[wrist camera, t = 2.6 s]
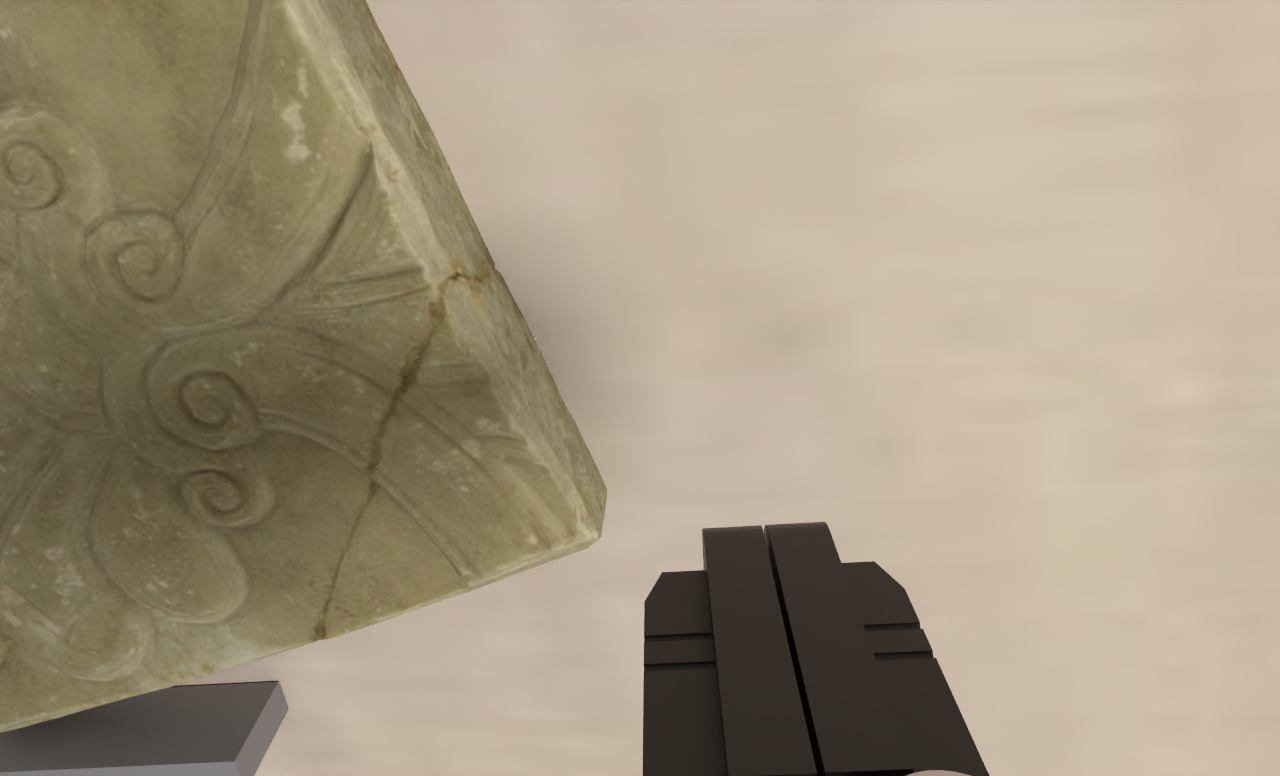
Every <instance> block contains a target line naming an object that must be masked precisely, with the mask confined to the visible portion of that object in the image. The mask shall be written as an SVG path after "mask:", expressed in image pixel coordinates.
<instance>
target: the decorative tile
mask: <svg viewBox="0 0 1280 776" xmlns="http://www.w3.org/2000/svg"><path fill="white" fill-rule="evenodd" d="M606 498H607V489H606V486H605V484H604V482H603V480H602V477H601V475H600V473H599V470H598V468H597V466H596V464H595V462H594V460H593V458H592V456H591V454H590V452H589V450H588V448H587V446H586V444H585V442H584V440H583V437H582V435H581V433H580V431H579V429H578V427H577V425H576V423H575V421H574V419H573V418H572V416H571V414H570V412H569V411H568V409H567V407H566V406H565V404H564V402H563V399H562V397H561V395H560V393H559V391H558V389H557V387H556V384H555V382H554V380H553V378H552V376H551V373H550V371H549V369H548V367H547V365H546V362H545V360H544V358H543V356H542V353H541V351H540V349H539V347H538V345H537V343H536V341H535V339H534V337H533V335H532V333H531V331H530V329H529V327H528V325H527V323H526V321H525V319H524V317H523V315H522V313H521V311H520V310H519V308H518V306H517V304H516V302H515V301H514V299H513V297H512V295H511V293H510V291H509V289H508V287H507V285H506V283H505V281H504V279H503V277H502V275H501V273H500V272H498V271H497V270H495V263H494V261H493V259H492V257H491V255H490V253H489V251H488V249H487V247H486V245H485V243H484V241H483V239H482V237H481V235H480V232H479V230H478V228H477V226H476V224H475V222H474V220H473V218H472V216H471V214H470V211H469V209H468V207H467V205H466V203H465V201H464V199H463V197H462V194H461V192H460V190H459V188H458V185H457V183H456V181H455V179H454V177H453V174H452V172H451V170H450V168H449V165H448V163H447V161H446V159H445V157H444V154H443V152H442V150H441V148H440V146H439V144H438V142H437V140H436V138H435V136H434V134H433V132H432V130H431V128H430V126H429V124H428V122H427V120H426V118H425V116H424V114H423V112H422V111H421V109H420V107H419V105H418V103H417V101H416V99H415V97H414V96H413V94H412V92H411V90H410V88H409V86H408V84H407V82H406V80H405V78H404V76H403V74H402V72H401V70H400V68H399V67H398V65H397V63H396V61H395V59H394V57H393V55H392V53H391V51H390V49H389V47H388V45H387V43H386V42H385V39H384V37H383V35H382V33H381V31H380V29H379V27H378V25H377V24H376V22H375V20H374V18H373V16H372V13H371V11H370V9H369V7H368V5H367V3H366V0H0V732H5V731H10V730H14V729H18V728H22V727H26V726H29V725H33V724H36V723H40V722H44V721H48V720H52V719H56V718H60V717H63V716H67V715H70V714H73V713H76V712H80V711H83V710H87V709H90V708H94V707H97V706H101V705H105V704H108V703H112V702H115V701H119V700H122V699H126V698H129V697H133V696H137V695H141V694H145V693H148V692H153V691H157V690H161V689H165V688H169V687H172V686H176V685H179V684H182V683H185V682H189V681H192V680H195V679H198V678H202V677H205V676H208V675H211V674H215V673H218V672H221V671H224V670H227V669H230V668H234V667H237V666H240V665H243V664H246V663H249V662H252V661H255V660H258V659H261V658H265V657H268V656H271V655H274V654H277V653H280V652H284V651H287V650H290V649H293V648H296V647H299V646H302V645H306V644H309V643H312V642H315V641H317V640H321V639H330V638H333V637H337V636H340V635H342V634H345V633H348V632H351V631H355V630H358V629H361V628H364V627H367V626H370V625H372V624H375V623H378V622H381V621H384V620H387V619H389V618H392V617H395V616H398V615H401V614H404V613H407V612H410V611H413V610H415V609H418V608H421V607H424V606H427V605H429V604H432V603H435V602H438V601H441V600H444V599H447V598H450V597H453V596H456V595H459V594H462V593H466V592H469V591H472V590H474V589H477V588H480V587H482V586H485V585H488V584H490V583H493V582H496V581H498V580H501V579H504V578H506V577H509V576H512V575H515V574H517V573H520V572H523V571H525V570H528V569H531V568H533V567H536V566H539V565H541V564H544V563H547V562H549V561H552V560H555V559H558V558H561V557H564V556H567V555H570V554H572V553H575V552H578V551H580V550H583V549H586V548H588V547H589V546H591V545H592V544H593V543H595V542H596V541H598V540H599V538H600V537H601V533H602V524H603V520H604V512H605V505H606Z"/></svg>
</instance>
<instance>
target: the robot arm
mask: <svg viewBox="0 0 1280 776" xmlns="http://www.w3.org/2000/svg"><path fill="white" fill-rule="evenodd" d="M702 538H703V560H704V570H702V571H682V572H662V574H661V575H660V577H659V579H658V580H657V582H656V584H655V585H654V587H653V589H652V590H651V592H650V594H649V595H648V597H647V599H646V600H645V617H644V638H645V642H644V715H643V776H989V774H988V772H987V770H986V768H985V765H984V763H983V761H982V759H981V757H980V754H979V752H978V750H977V748H976V746H975V743H974V741H973V739H972V737H971V735H970V732H969V730H968V728H967V726H966V723H965V721H964V719H963V717H962V715H961V712H960V710H959V708H958V706H957V704H956V701H955V699H954V697H953V695H952V692H951V690H950V688H949V686H948V684H947V681H946V679H945V677H944V675H943V673H942V670H941V668H940V666H939V664H938V662H937V659H936V658H934V657H933V650H932V648H931V646H930V644H929V642H928V639H927V637H926V635H925V633H924V631H923V629H921V628H920V622H919V620H918V617H917V615H916V613H915V611H914V608H913V606H912V604H911V602H910V600H909V597H908V595H907V593H906V591H905V589H904V588H903V587H902V586H901V585H900V584H899V583H898V582H896V581H895V580H894V579H893V578H892V577H891V576H890V575H889V574H888V573H886V572H885V571H884V570H883V569H882V568H881V567H880V566H879V565H878V564H876V563H875V562H855V563H841V561H840V558H839V556H838V553H837V550H836V547H835V544H834V542H833V539H832V536H831V533H830V530H829V528H828V525H827V524H826V523H825V522H815V523H796V524H777V525H765V528H764V533H763V529H762V527H761V526H744V527H725V528H706V529H702Z"/></svg>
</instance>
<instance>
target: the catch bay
mask: <svg viewBox="0 0 1280 776" xmlns="http://www.w3.org/2000/svg"><path fill="white" fill-rule="evenodd" d="M287 711H288V707H287V704H286V702H285V699H284V696H283V693H282V690H281V687H280V685H279V682H261V683H241V684H221V685H201V686H181V687H169V688H165V689H161V690H157V691H153V692H148V693H145V694H141V695H137V696H133V697H129V698H126V699H122V700H119V701H115V702H112V703H108V704H105V705H101V706H97V707H94V708H90V709H87V710H83V711H80V712H76V713H73V714H70V715H67V716H63V717H60V718H56V719H52V720H48V721H44V722H40V723H36V724H33V725H29V726H26V727H22V728H18V729H14V730H10V731H5V732H0V776H254V775H255V773H256V771H257V769H258V767H259V765H260V763H261V761H262V759H263V757H264V755H265V753H266V751H267V749H268V747H269V745H270V744H271V742H272V740H273V738H274V736H275V734H276V732H277V730H278V728H279V726H280V724H281V722H282V720H283V718H284V716H285V714H286V713H287Z"/></svg>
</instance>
